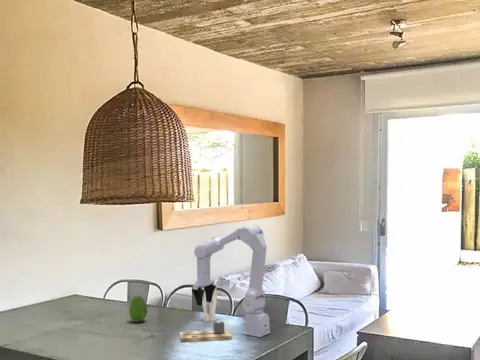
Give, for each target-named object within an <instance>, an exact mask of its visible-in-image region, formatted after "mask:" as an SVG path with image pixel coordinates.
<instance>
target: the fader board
mask: <svg viewBox="0 0 480 360" xmlns="http://www.w3.org/2000/svg"><path fill="white" fill-rule="evenodd" d="M178 335H179V339H180V343H181V344H182V343H194V342H195V343H198V342H212V341H213V342H214V341H215V340H217V341H228V340H229V341H232V340H233V336H232V333H231V332H230V331H229V329H224V333H214V329H213V330H211V329H210V330H196V331H195V330H194V331H192V330H191V331H180V332H179V334H178Z"/></svg>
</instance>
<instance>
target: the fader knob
mask: <svg viewBox="0 0 480 360" xmlns="http://www.w3.org/2000/svg"><path fill="white" fill-rule="evenodd" d="M212 322H213V327H212V328H213V330H214V333H224V330H225V322H224V321H221V320H220V321H212Z"/></svg>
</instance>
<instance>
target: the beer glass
mask: <svg viewBox="0 0 480 360" xmlns="http://www.w3.org/2000/svg"><path fill="white" fill-rule="evenodd" d="M201 289H202V290H204V287H202V288H201ZM217 291H218V290H217V287H216V288H215V290H214V293H213V296H212V301H211V302H206V294H205V291H204V294H203V301H202V305H201V306H202V309H203V310H202V311H203V314H202V315H203V316H202V321H203V322H206V323H209V322H217V321H216V320H217V318H216V307H217V302H218V301H217V300H218V292H217Z"/></svg>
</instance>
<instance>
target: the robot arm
mask: <svg viewBox="0 0 480 360" xmlns="http://www.w3.org/2000/svg"><path fill="white" fill-rule="evenodd" d="M264 234H265V231H263V229H262V228H261V227H260V226H259V225H256V224H255V225H250V226H249V225H248V226H242V227H239V228H237V229H234V230H233V231H231V232H230V233H228V234H226V235H224V236H222V237H219V236H217V237H216V236H213V237H211V239H210V240H208V241H204V242H203V244H198V245H196V247H195V248H194V252H193V253H194V256H195V257H196V272H197V273H196V274H197V275H196V277H197V278H196V279H197V281H195V283H193V284H192V288H191V292H192V294H193V296H194V298H195V302H196V305H197V306H203V305H202V301H203V294H204V291H205V294H206V302H211V301H212V296H213V293H214V290H215V288H216V289H217V285H215V283H216V282H215V280H214V279H211V257H212V256H213V254H215V253H217V252H220V251H222V250H223V249H224V248H225V245H227V244H229V243H231V242H234V241H236V240H240V241H242V242H243V243H244V244H246V245H247V246H248V247H250V249H251V250H252V256H251V257H252V258H251V263H250V264H251V266H250V272H249V273H250V274H249V283H248V284H249V285H248V289H247V290H246V292H245V294H244V298H243V299H242V303H241V305H242V309H243V311H244V313H245V331H242V332H241V335H246V336H252V337H257V338H262V337H264V336H267V335H268V334H269V335H270V334H271V331H270V316H269V314H268V313H265V312H264V307H265V306H266V304H267V303H266V302H267V300H266V297H265V296H266V295H265V294H266V293H265V291H264V289H263V282H264V273H265V267H266V265H265V264H266V257H267V256H266V255H267V246H268V245H267V243H266V240H265V237H264ZM202 287H204V290H202Z"/></svg>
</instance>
